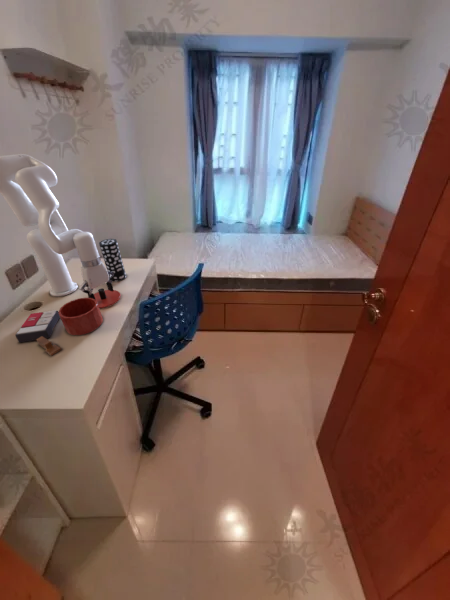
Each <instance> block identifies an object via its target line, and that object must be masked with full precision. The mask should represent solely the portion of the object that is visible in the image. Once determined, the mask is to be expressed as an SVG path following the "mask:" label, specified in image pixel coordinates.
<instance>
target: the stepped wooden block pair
mask: <svg viewBox="0 0 450 600" xmlns="http://www.w3.org/2000/svg"><path fill="white" fill-rule="evenodd" d="M35 341H36V342H37V344H38V345H39V346H40V347H42V348H43V349H45V350H44V351H45V352H44V353H46V354H48V355H50V356H51V357H52V356H54V355H55V354H57V353H58V352H60V351H62V348H61V347H60V346H59V345H57V344H53V343H52V341H50V340H49V339H48V338H44V337H43V336H41V337H40V338H38V339H36V340H35Z"/></svg>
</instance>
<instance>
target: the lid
mask: <svg viewBox="0 0 450 600" xmlns="http://www.w3.org/2000/svg"><path fill="white" fill-rule="evenodd" d="M93 294H94V297H95V299H96V301H97V304H98V306H99V309H105V308H108V307H110V306H113V305H115V304H116V303H118V302H119V301H120V300H121V297H122V295H121V292H120V291H118V290H116V289H113V292H112V291H109V290H108V289H105V288H99V289H97V292H95V293H93Z"/></svg>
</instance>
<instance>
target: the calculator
mask: <svg viewBox="0 0 450 600" xmlns="http://www.w3.org/2000/svg"><path fill="white" fill-rule="evenodd" d="M58 312H59V310H56V309H55V310H54V309H53V310H48V311H46V310H45V311H44V312H43V311H40V312H33V313H30V314H29V316H28V317H27V318H26V319H25V320H24V322H23V323H22V324H21V326H20V328H19V329H18V331H17V332H16V333H15V334H14V335H15V337H16V339H17V341H18V343H25V342H32V341H37V340H36V339H38V338H40V337H41V336H43V337H44V338H46V339H50V338H51V336H52V334H53V330H54V328H55V326H56V325H57V323H58V322H59V320H60V319H61V318H60V316H59V313H58Z"/></svg>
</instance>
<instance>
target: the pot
mask: <svg viewBox="0 0 450 600" xmlns="http://www.w3.org/2000/svg"><path fill="white" fill-rule="evenodd" d="M100 309H101V308H99V306H98V304H97V301H96V300H95V299H92V298H89V297H80V298H75V299H72V300H70V301H68V302H66V303H64V304H63V305H62V306H61V307H59V310H58V313H59V316H60V318H59V319H60V320H61V323H62V325H63V326H64V329H65V331H66V332H67V333H68V334H69V335H72V336H83V335H87V334H90V333H92V332H94V331H96V330H97V329H99V328H100V326H101V325H102V324H103V323H104V319H103V314H102V313H101V310H100Z"/></svg>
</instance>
